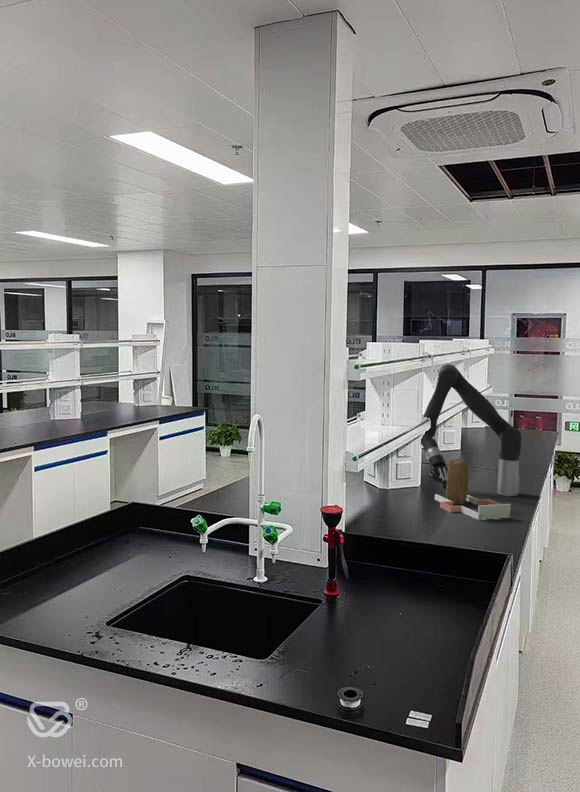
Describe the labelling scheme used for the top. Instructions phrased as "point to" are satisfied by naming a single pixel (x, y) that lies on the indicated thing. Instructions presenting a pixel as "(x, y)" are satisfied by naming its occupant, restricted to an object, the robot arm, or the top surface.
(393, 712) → the top surface
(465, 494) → the block
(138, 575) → the top surface
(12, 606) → the top surface
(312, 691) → the top surface
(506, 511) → the trap channel
